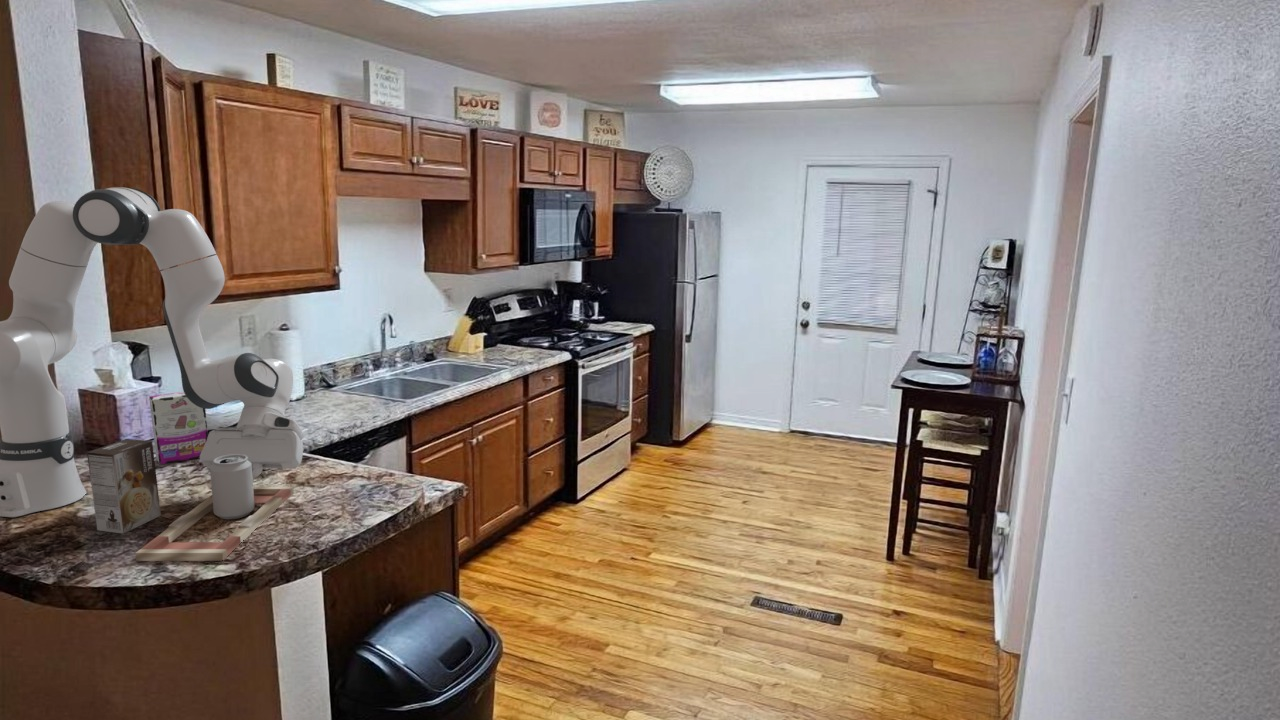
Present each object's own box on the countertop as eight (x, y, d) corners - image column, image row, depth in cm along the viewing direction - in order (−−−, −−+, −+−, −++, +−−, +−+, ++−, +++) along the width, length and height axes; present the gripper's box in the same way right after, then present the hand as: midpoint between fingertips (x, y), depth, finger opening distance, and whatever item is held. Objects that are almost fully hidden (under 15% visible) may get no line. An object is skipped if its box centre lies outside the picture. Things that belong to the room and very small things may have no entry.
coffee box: (135, 513, 157) (126, 437, 153) (162, 516, 155) (154, 440, 152) (95, 531, 148) (85, 451, 145) (123, 534, 147) (114, 454, 143)
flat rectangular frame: (136, 560, 136) (134, 550, 136) (223, 492, 168) (222, 484, 168) (223, 560, 137) (222, 550, 137) (293, 493, 169) (293, 484, 169)
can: (219, 508, 160) (214, 453, 158) (258, 505, 162) (254, 451, 160) (209, 522, 153) (204, 465, 151) (250, 519, 155) (246, 462, 153)
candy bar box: (205, 451, 196) (200, 388, 192) (210, 456, 192) (205, 392, 189) (154, 459, 188) (148, 395, 185) (158, 465, 185) (152, 399, 181)
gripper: (205, 420, 166) (186, 478, 158) (302, 420, 167) (287, 479, 160) (217, 433, 171) (198, 491, 163) (310, 434, 172) (297, 491, 165)
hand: (243, 485), depth 162 cm, fingers closed
